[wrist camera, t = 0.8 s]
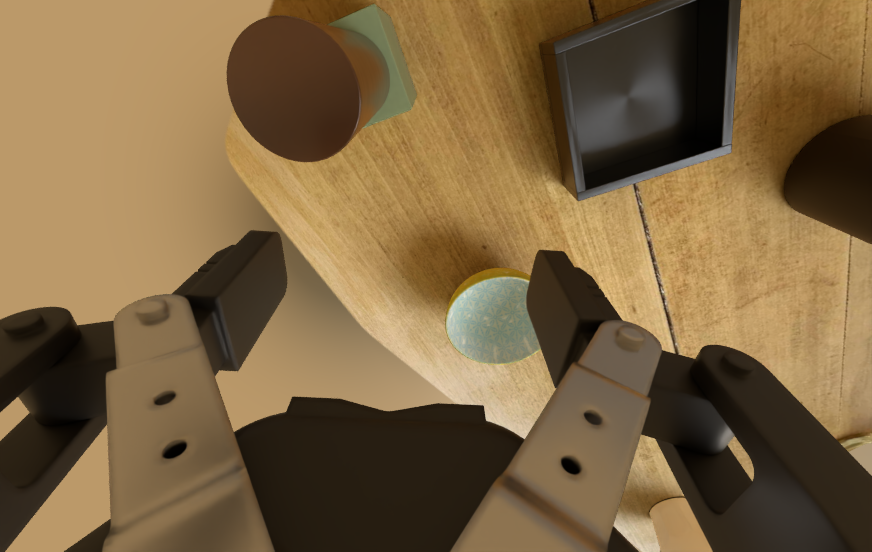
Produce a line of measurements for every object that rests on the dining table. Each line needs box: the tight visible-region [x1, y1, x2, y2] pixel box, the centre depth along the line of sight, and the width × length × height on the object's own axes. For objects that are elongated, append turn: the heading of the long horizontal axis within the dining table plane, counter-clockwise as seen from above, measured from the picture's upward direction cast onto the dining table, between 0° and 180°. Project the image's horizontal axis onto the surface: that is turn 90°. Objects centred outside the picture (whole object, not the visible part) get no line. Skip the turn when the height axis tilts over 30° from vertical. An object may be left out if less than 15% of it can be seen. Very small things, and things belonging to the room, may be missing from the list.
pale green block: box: [327, 4, 417, 129], centre depth 27 cm, size 6×6×9 cm
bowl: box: [445, 268, 541, 365], centre depth 40 cm, size 11×12×6 cm
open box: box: [539, 0, 741, 201], centre depth 30 cm, size 13×13×4 cm
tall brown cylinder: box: [227, 16, 390, 162], centre depth 19 cm, size 5×5×11 cm
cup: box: [649, 497, 713, 552], centre depth 63 cm, size 12×12×11 cm
